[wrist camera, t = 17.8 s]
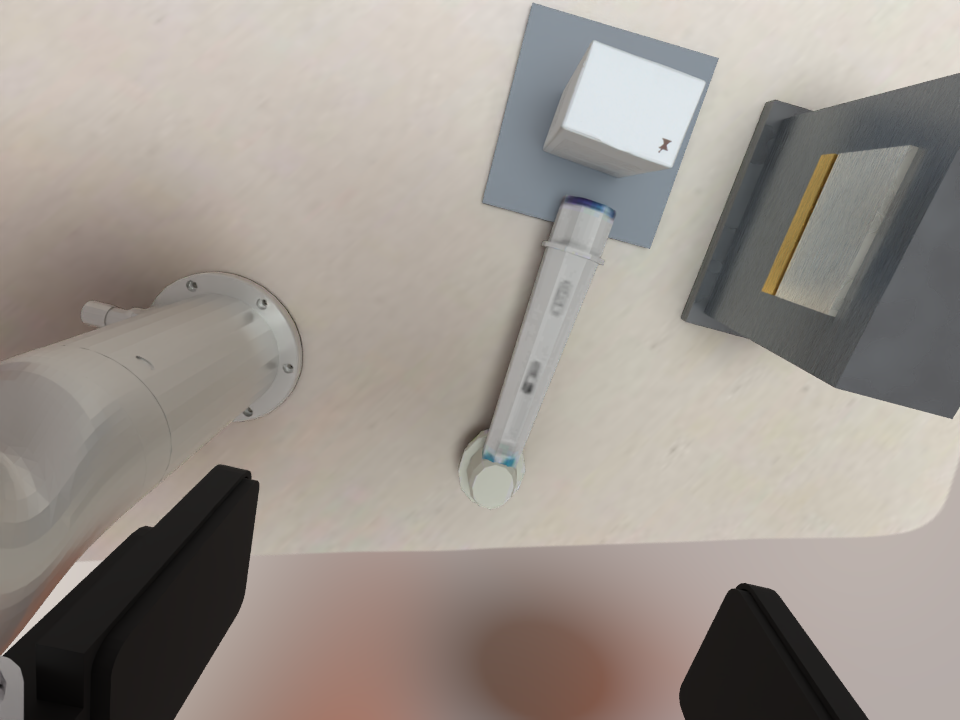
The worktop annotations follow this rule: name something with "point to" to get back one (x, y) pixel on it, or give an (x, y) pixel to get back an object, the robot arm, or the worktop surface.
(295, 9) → the worktop surface
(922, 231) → the mounted unit
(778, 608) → the robot arm
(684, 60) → the slate mat
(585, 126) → the skincare box
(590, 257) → the white elongated piece
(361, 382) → the worktop surface
